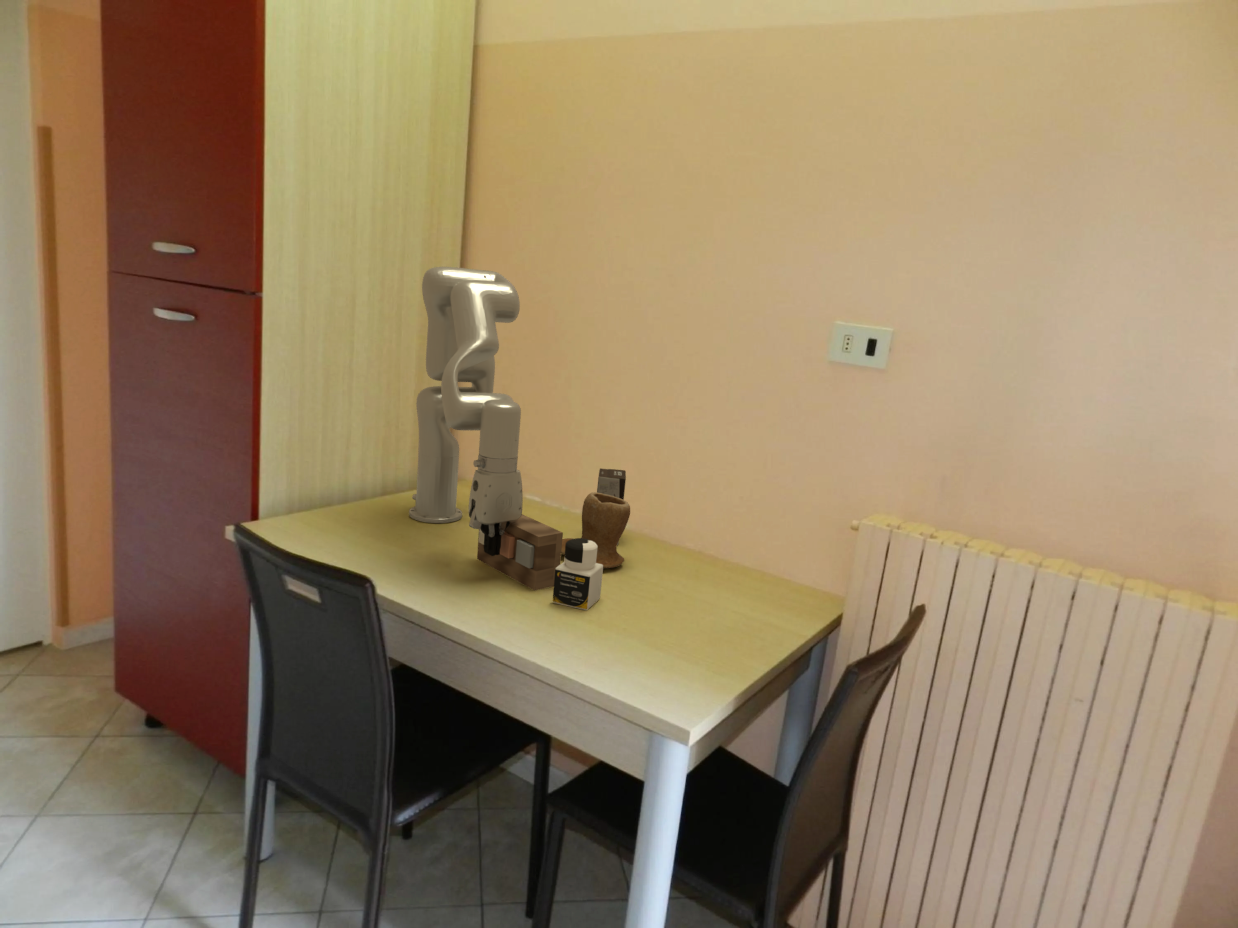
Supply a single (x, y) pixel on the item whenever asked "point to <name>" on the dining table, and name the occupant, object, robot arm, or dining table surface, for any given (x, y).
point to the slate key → (525, 553)
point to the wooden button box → (544, 554)
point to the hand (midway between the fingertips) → (491, 553)
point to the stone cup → (604, 526)
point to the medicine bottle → (578, 575)
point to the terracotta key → (507, 545)
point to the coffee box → (612, 483)
